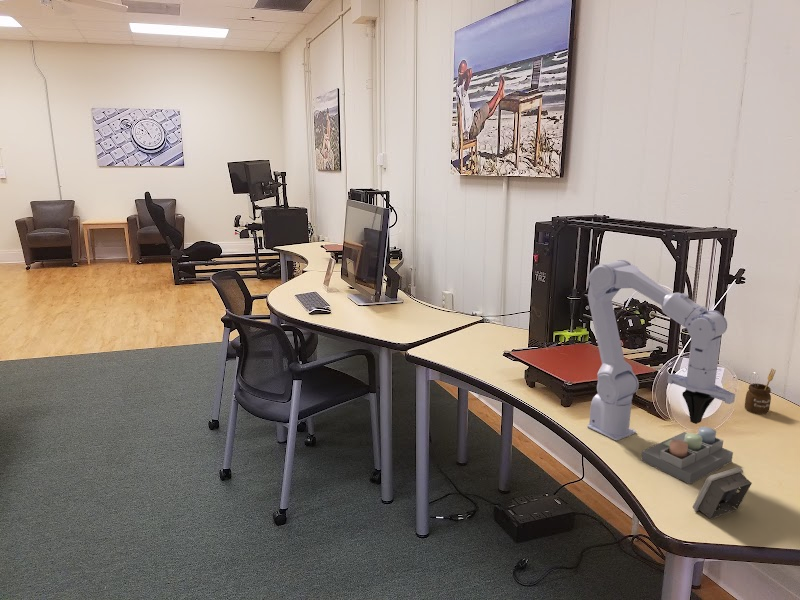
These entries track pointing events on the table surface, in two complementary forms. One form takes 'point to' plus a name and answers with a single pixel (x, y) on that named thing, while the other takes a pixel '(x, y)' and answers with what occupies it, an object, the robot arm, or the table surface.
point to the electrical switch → (722, 493)
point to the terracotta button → (678, 448)
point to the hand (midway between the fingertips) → (695, 421)
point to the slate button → (707, 434)
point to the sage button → (693, 441)
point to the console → (688, 459)
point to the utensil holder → (759, 396)
